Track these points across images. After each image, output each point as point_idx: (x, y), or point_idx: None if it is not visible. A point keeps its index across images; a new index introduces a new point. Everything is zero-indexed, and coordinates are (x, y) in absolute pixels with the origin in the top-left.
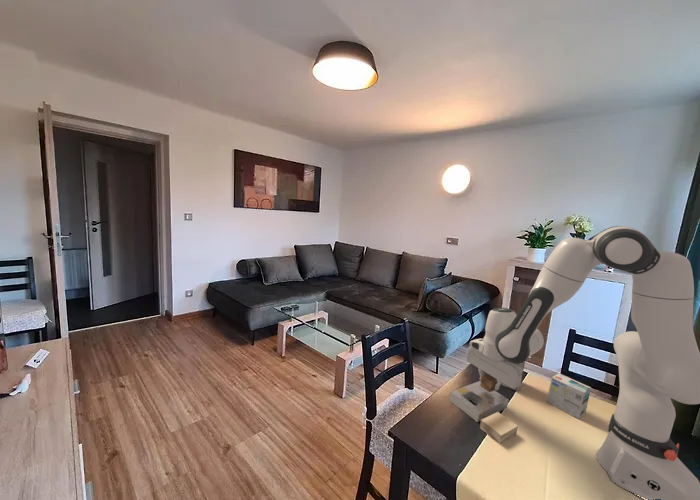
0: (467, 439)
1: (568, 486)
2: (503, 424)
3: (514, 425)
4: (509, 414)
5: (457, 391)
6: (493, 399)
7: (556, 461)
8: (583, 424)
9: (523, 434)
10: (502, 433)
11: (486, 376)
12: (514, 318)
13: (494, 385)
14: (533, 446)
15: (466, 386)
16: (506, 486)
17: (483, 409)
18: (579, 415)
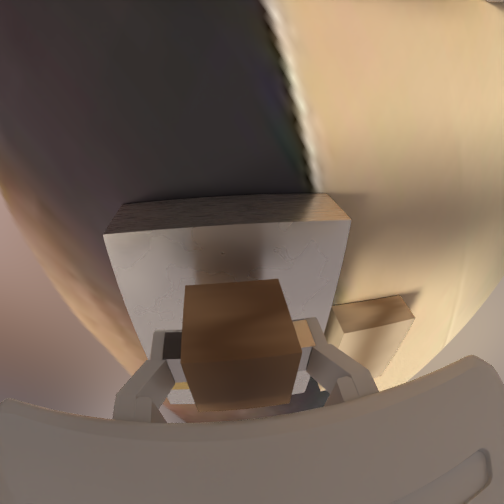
0: (312, 397)
1: (476, 303)
2: (377, 353)
3: (406, 326)
4: (354, 227)
5: (175, 391)
6: (294, 306)
7: (473, 273)
8: (500, 23)
9: (415, 274)
10: (382, 371)
11: (213, 395)
12: None
13: (299, 365)
14: (437, 286)
15: (147, 348)
16: (396, 384)
17: (304, 376)
18: (499, 1)
